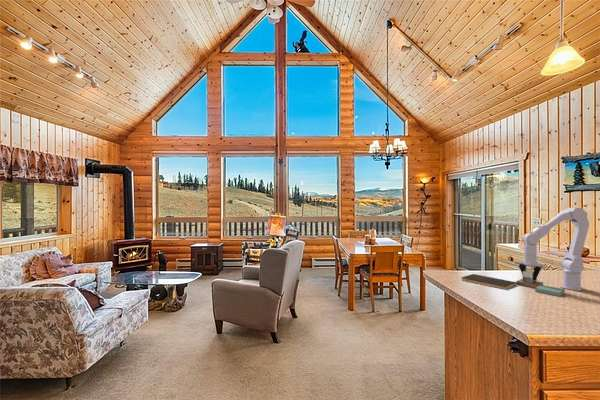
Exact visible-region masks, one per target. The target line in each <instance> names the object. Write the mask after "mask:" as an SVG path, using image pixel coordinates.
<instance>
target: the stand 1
mask: <svg viewBox="0 0 600 400" xmlns="http://www.w3.org/2000/svg"><path fill="white" fill-rule="evenodd" d="M515 282H516V285H515V286H521V287H527V288H531V289H535V288H536V287H538V286H540V285H544V282H542V281H538V280H537V282H535V283H533V284H531V283H526V282H523V278H520V279H517V280H515Z"/></svg>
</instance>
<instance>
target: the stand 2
mask: <svg viewBox="0 0 600 400" xmlns="http://www.w3.org/2000/svg"><path fill="white" fill-rule="evenodd" d="M534 289H535V291H534V292H535V293H540V294H545V295H549V296H556V297H561V296H563V295H564V294H565V292H566V291H565V288H561V287H560V288H559V287H554V286H549V285H544V284H543V285H540V286H538V287H536V288H534Z"/></svg>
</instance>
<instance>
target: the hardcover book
mask: <svg viewBox="0 0 600 400" xmlns="http://www.w3.org/2000/svg"><path fill="white" fill-rule="evenodd" d="M461 281H464V282H469V283H473V284H478V285H482V286H486V285H487V287H492V288H496V289H501V290H506V289H510V288H512V287H515V286H517V285H516V281H512V280H506V279H501V278H497V277H496V278H495V277H491V276H485V275H481V274H475V273H472V274H467V275H465V276H462V277H461Z"/></svg>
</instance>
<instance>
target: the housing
mask: <svg viewBox="0 0 600 400" xmlns="http://www.w3.org/2000/svg"><path fill="white" fill-rule="evenodd" d="M522 279H523V282H526V283H531V284H533V283H535V282H537V281H538V280H536V281H535V280H534V269H533V270H532V269H529V268H528V269H527V268H526V270H525V271H523V275H522Z"/></svg>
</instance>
